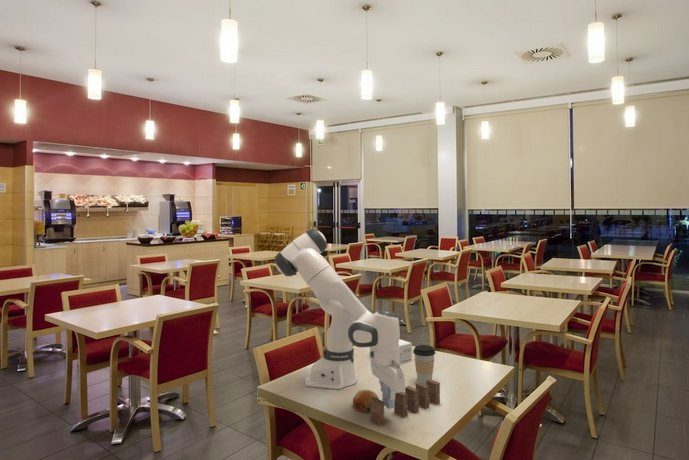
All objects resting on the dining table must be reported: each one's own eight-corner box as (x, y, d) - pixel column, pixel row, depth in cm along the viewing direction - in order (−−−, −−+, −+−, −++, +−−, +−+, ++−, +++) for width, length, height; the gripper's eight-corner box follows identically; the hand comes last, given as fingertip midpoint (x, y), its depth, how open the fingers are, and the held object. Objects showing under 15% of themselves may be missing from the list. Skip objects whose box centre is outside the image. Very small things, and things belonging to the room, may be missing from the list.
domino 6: (436, 405, 169) (435, 384, 169) (426, 400, 173) (426, 380, 173) (439, 403, 170) (439, 383, 170) (430, 399, 174) (430, 379, 174)
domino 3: (403, 417, 160) (403, 395, 159) (394, 412, 164) (393, 390, 163) (407, 415, 161) (407, 393, 161) (398, 410, 165) (398, 389, 165)
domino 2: (387, 402, 161) (387, 380, 161) (393, 408, 157) (393, 385, 156) (382, 403, 161) (382, 381, 160) (388, 409, 156) (388, 386, 156)
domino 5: (425, 408, 166) (425, 387, 166) (416, 404, 170) (415, 383, 170) (429, 407, 167) (429, 386, 167) (419, 402, 171) (419, 382, 171)
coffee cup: (435, 387, 186) (435, 351, 185) (412, 386, 187) (412, 350, 187) (435, 378, 195) (435, 344, 194) (413, 377, 197) (413, 343, 196)
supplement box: (369, 358, 224) (369, 339, 224) (388, 352, 232) (388, 334, 231) (392, 367, 211) (392, 347, 210) (412, 361, 218) (412, 342, 218)
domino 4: (414, 413, 163) (414, 391, 162) (405, 408, 167) (405, 387, 167) (418, 411, 164) (418, 390, 164) (409, 406, 168) (409, 385, 168)
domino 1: (379, 426, 153) (379, 403, 153) (370, 420, 158) (370, 398, 157) (384, 424, 155) (383, 401, 154) (375, 419, 159) (374, 397, 158)
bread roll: (379, 412, 172) (378, 390, 175) (380, 412, 163) (379, 388, 166) (353, 412, 172) (353, 390, 175) (352, 412, 163) (352, 388, 166)
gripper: (409, 365, 149) (410, 405, 150) (383, 347, 168) (383, 383, 169) (392, 367, 147) (393, 409, 148) (367, 349, 166) (368, 386, 167)
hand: (387, 395), depth 158 cm, fingers closed on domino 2, 5 cm apart
